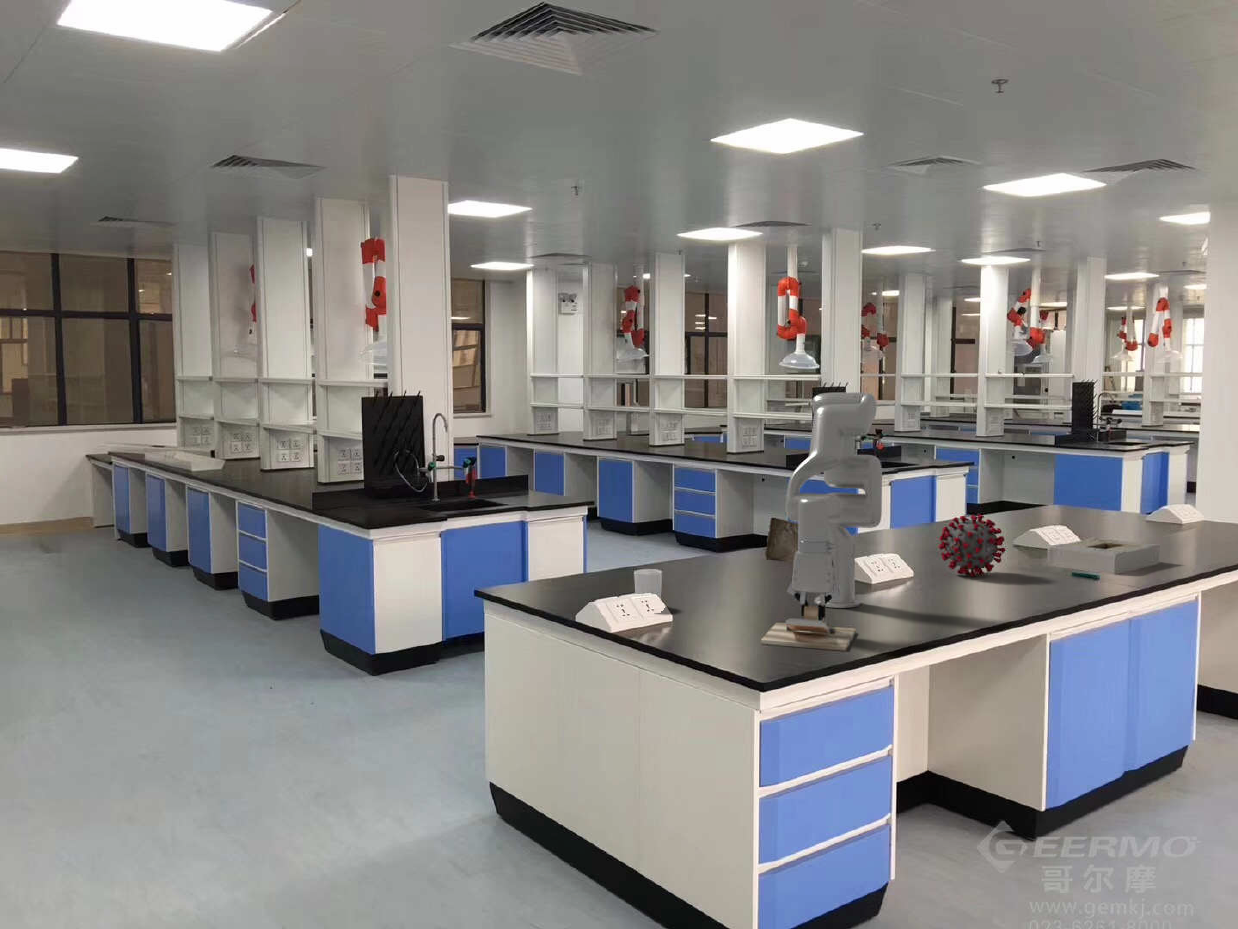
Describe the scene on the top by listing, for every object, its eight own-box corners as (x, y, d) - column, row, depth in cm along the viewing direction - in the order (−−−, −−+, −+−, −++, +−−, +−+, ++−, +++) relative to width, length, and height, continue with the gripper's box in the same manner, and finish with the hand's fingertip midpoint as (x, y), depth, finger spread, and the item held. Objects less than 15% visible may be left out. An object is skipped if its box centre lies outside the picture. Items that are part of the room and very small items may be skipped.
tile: (786, 620, 231) (785, 625, 231) (823, 622, 228) (823, 628, 228) (792, 625, 239) (792, 630, 239) (829, 628, 236) (828, 633, 236)
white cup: (661, 603, 277) (660, 568, 276) (663, 609, 269) (663, 574, 268) (633, 603, 276) (633, 569, 276) (635, 609, 269) (634, 574, 268)
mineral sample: (764, 559, 348) (765, 517, 347) (772, 558, 350) (772, 516, 349) (802, 565, 335) (802, 522, 334) (809, 563, 338) (809, 521, 337)
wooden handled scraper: (801, 624, 248) (802, 608, 249) (833, 626, 246) (833, 610, 246) (788, 620, 231) (789, 603, 232) (821, 622, 228) (822, 605, 229)
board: (776, 626, 248) (776, 618, 247) (855, 632, 241) (855, 624, 240) (760, 643, 231) (760, 634, 231) (845, 651, 224) (845, 641, 224)
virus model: (1014, 581, 303) (1016, 518, 301) (949, 581, 303) (950, 519, 302) (991, 569, 323) (992, 510, 322) (930, 570, 324) (931, 511, 322)
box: (1092, 556, 349) (1046, 566, 330) (1093, 535, 349) (1047, 544, 329) (1159, 566, 331) (1115, 577, 312) (1160, 544, 330) (1116, 553, 311)
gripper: (848, 546, 240) (848, 618, 241) (783, 543, 246) (783, 614, 247) (844, 551, 233) (844, 625, 235) (777, 548, 239) (777, 621, 240)
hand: (813, 619), depth 241 cm, fingers closed on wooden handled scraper, 3 cm apart
